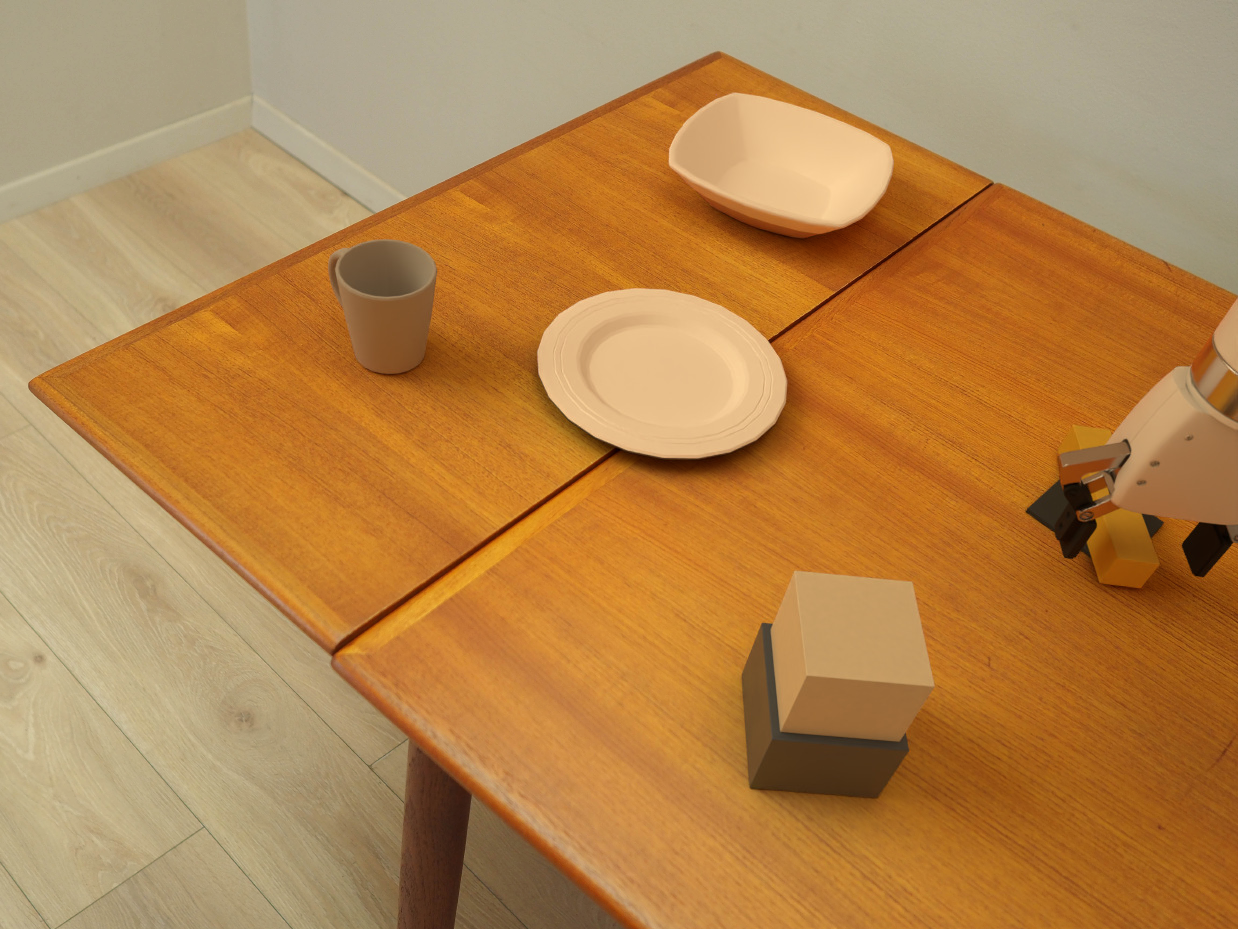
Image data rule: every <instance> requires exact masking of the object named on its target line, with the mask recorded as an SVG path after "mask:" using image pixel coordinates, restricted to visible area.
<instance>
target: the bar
mask: <svg viewBox="0 0 1238 929" xmlns="http://www.w3.org/2000/svg"><path fill="white" fill-rule="evenodd" d="M1112 434H1113V433H1112V430H1111V429H1108V428H1101V427H1095V426H1086V425H1079V424H1072V426H1071V427H1070V428H1069V430H1068V431H1067V434H1065V437H1064V438H1063V440H1062V442H1061V443H1060V445H1058V446H1059V447H1058V448H1057V452H1058V456H1059V455H1060V454H1062V453H1065V452H1070V451H1075V450H1081V449H1086V448H1092V447H1097V446H1103V445H1105V444H1106V443H1107V441H1108V440H1109V439H1110V437H1111V436H1112ZM1099 472H1100V471H1099ZM1096 473H1098V472H1094V473H1088V474H1085V475H1084V476H1083V477H1082V478H1081V480H1082V479H1085V478H1087V477H1089V476H1091V475H1094V474H1096ZM1091 495H1092V498H1093V501H1095V500H1097V499H1099V498H1102V497H1104V496H1106V495H1110V494H1109V491H1108V488H1107V487H1106V488H1104V489H1102V490H1099V491H1097V492H1095V493H1092V494H1091ZM1096 522H1097V528H1096V530H1095V531H1094V532H1093V534H1092V535H1091V537H1090V538H1089V540H1088V541H1087V545H1088V548H1089V551H1090V554H1091V557H1090V559H1091V560H1092V564H1093V567H1094V570H1095V573H1096V577H1097V580H1098V583H1099V584H1102V585H1103V584H1104V585H1110V586H1111V585H1112V586H1120V587H1125V588H1126V587H1127V588H1135V589H1141V588H1143V586H1144V585H1145V584H1146V582H1147V581H1148V580H1149V579H1150V577H1151V576H1152V575H1153V574H1154V572H1155V571H1156V570H1157V569H1158V568H1159V566H1160V565H1161V563H1160V559H1159V557H1158V553H1157V552H1156V549H1155V547H1154V543H1153V541H1152V537H1151V538H1150V535H1149V533H1148V530H1147V527H1146V524H1145V522H1144V519H1143V516H1142V514H1141V513H1136V512H1132V511H1128V510H1124V509H1122V508H1120V509H1117V510H1115V511H1113V512H1110V513H1108V514H1105V515H1103V516H1101V517H1098V518H1096Z"/></svg>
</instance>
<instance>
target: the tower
mask: <svg viewBox="0 0 1238 929" xmlns="http://www.w3.org/2000/svg"><path fill="white" fill-rule="evenodd" d="M932 670H933V669H932V665H931V661H930V657H929V652H928V648H927V643H926V638H925V632H924V629H923V624H922V618H921V615H920V609H919V605H918V601H917V596H916V591H915V587H914V582H913V581H909V580H899V579H887V578H878V577H877V578H876V577H867V576H858V575H857V576H856V575H847V574H836V573H825V572H815V571H805V570H794V571H793V572H792V575H791V578H790V580H789V583H788V585H787V588H786V591H785V593H784V595H783V597H782V600H781V603H780V606H779V607H778V611H777V612H776V615H775V618H774V620H773V623H771V622H769V623H768V622H761V624H760V626H759V629H758V631H757V634H756V636H755V639H754V642H753V644H752V647H751V649H750V651H749V654H748V657H747V660H746V662H745V665H744V667H743V670H742V671H741V687H742V688H741V689H742V702H743V716H744V718H743V719H744V731H745V732H744V733H745V744H746V746H745V747H746V758H747V759H746V760H747V772H748V773H747V774H748V775H747V776H748V787H749V789H755V790H769V791H780V792H781V791H782V792H794V793H807V794H819V795H833V796H843V797H844V796H845V797H855V798H858V797H859V798H871V799H878V798H879V797H880V795H881V794H882V792H883V791H884V789H885V788H886V787H887V785H888V784H889V782H890V780H892V778H893V776H894V775H895V773H896V771H897V770H898V769H899V767H900V766H901V764H902V763H903V761H904V759H905V758H906V757H907V755H908V754H909V752H910V748H909V741H908V736H907V731H908V730H909V728H910V727H911V725H912V723H913V722H914V720H915V718H916V717H917V716H918V714H919V713H920V711H921V709H922V707H923V706H924V704H925V703H926V701H927V700H928V699H929V697H930V695H931V694H932V693H933V691H934V689H935V688H936V685H935V679H934V675H933V671H932Z"/></svg>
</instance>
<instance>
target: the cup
mask: <svg viewBox="0 0 1238 929" xmlns="http://www.w3.org/2000/svg"><path fill="white" fill-rule="evenodd" d="M327 269H328V277H329V281H330V285H331V288H332V291H333V293H334V296H335V298H336V299H337V301H338V303H339V305H340V307H341V308H342V310H343V315H344V319H345V322H346V326H347V330H348V334H349V338H350V342H351V345H352V346H351V347H352V349H353V353H354V357H355V358H356V360H357V362H358V363H359V364H360V365H361V366H362V367H363V368H365V369H368V371H371V372H374V373H379V374H384V375H385V374H386V375H396V374H402V373H405V372H409V371H411V370H412V369H415V368H416V367H418V366H419V365H420V364H421V363H422V362H423V360H424V358H425V357H426V356H425V355H426V351H427V343H428V339H429V333H430V326H431V321H432V315H433V308H434V300H435V292H436V284H437V276H438V268H437V264H436V261H435V260H434V259H433V257H432V256H431V255H430V254H429V252H427V251H426V250H424V249H423V248H422V247H420V246H418V245H416V244H414V243H411V242H407V241H403V240H399V239H388V238H383V239H372V240H368V241H363V242H360V243H357V244H355V245H354V246H351V247H343V248H339V249H337V250H335V251H334V252H333V253H331V254H330V255H329V258H328V264H327Z"/></svg>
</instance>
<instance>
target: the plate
mask: <svg viewBox="0 0 1238 929" xmlns="http://www.w3.org/2000/svg"><path fill="white" fill-rule="evenodd" d="M536 356H537V371H538V378H539V380H540V382H541V384H542V387H543V389H544V391H545V393H546V395H547V397H548V399H549V401H550V402H551V403H552V404H553V405H554V406H555V407H556V408H557V410H558V411H559V412H560V413H561V414H562V415H563V416H564V418H566V419H567V421H569V422H570V423H571V424H573V425H574V426H576V427H577V428H579V429H580V430H582V431H583V432H585V433H586V434H588V435H589V436H591V437H592V438H594V439H595V440H597V441H600V442H603V443H604V444H607V445H609V446H612V447H615V448H616V449H619V450H621V451H624V452H626V453H630V454H636V455H640V456H644V457H650V458H654V459H660V460H684V461H685V460H688V461H689V460H690V461H694V460H695V461H698V460H699V461H700V460H703V459H708V458H714V457H719V456H725V455H729V454H732V453H734V452H736V451H739V450H740V449H742V448H745V447H747V446H749V445H751V444H754V443H755V442H757V441H759V439H760V438H761V437H762V436H764V435H765V434H766V433H767V432H769V430H771V429H772V427H774V426H775V425H776V423H777V421H778V418H779V417H780V415H781V414H782V411H783V410H784V407H785V406H786V404H787V403H786V402H787V391H788V379H787V376H786V372H785V369H784V365H783V362H782V359H781V357H780V356H779V355H778V353H777V352H776V350H775V349H774V347H773V346H772V345H771V343H770V341H769V340H768V339H767V338H766V337H765V336H764V335H763V334H762V333H761V332H760V331H759V330H758V329H756V327H754V326H753V325H752V324H751V323H750V322H749V321H748V320H746V319H745V318H743V317H741V316H740V315H738V314H736V313H735V312H732V311H731V310H730V309H728V308H726V307H724V306H723V305H720V304H717V303H715V302H712V301H710V300H707V299H704V298H701V297H699V296H696V295H693V294H689V293H683V292H678V291H674V290H669V289H663V288H641V287H640V288H638V287H637V288H636V287H634V288H633V287H632V288H626V289H619V290H618V289H617V290H610V291H605V292H602V293H599V294H595V295H592V296H590V297H587V298H584V299H581V300H579V301H577V302H575V303H574V304H572V305H571V306H569V307H568V308H566V309H564V310H563V311H561V312H560V313H558V314H557V315H556V317H554V319H553V320H552V322H551V323H550V324H549V325H548V326H547V328H546V329H545V330H544V331H543V334H542V337H541V340H540V343H539V346H538V348H537V351H536Z"/></svg>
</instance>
